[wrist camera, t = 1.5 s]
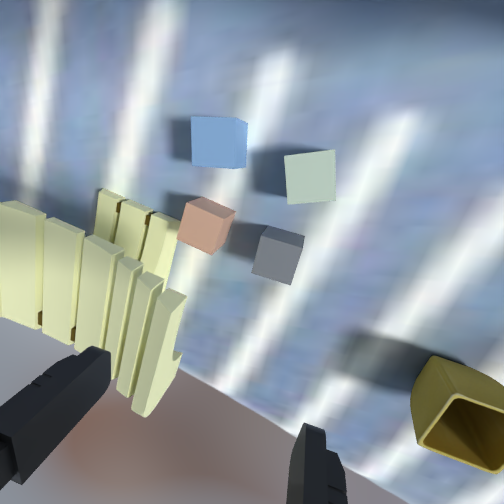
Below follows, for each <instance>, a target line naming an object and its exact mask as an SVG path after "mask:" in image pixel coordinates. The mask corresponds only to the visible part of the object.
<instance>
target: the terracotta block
mask: <svg viewBox="0 0 504 504" xmlns="http://www.w3.org/2000/svg"><path fill="white" fill-rule="evenodd" d="M235 213H236V211H234V210H232V209H229V208H227V207H225V206H223V205H220V204H218V203H216V202H214V201H211V200H209V199H207V198H205V197H201V198H198V199H195V200H192V201H189V202H186V206H185V209H184V213H183V216H182V220H181V224H180V227H179V231H178V234H177V238H176V239H178V240H180V241H182V242H184V243H186V244H188V245H191V246H193V247H195V248H197V249H199V250H201V251H203V252H206V253H208V254H210V255H213V254H214V253H215V252H216V251H217V250H218V249H219V248H220V247H221V246H222V245H223V244H224V243H225V241H226V238H227V235H228V232H229V230H230V227H231V224H232V221H233V219H234V216H235Z"/></svg>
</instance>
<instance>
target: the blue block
mask: <svg viewBox="0 0 504 504" xmlns="http://www.w3.org/2000/svg"><path fill="white" fill-rule="evenodd" d="M247 129H248V123H246V122H244V121H242V120H240V119H238V118H229V117H197V116H191V146H192V166H201V167H215V168H229V169H237V168H244V167H246V152H247Z"/></svg>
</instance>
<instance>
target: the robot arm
mask: <svg viewBox="0 0 504 504" xmlns="http://www.w3.org/2000/svg"><path fill="white" fill-rule="evenodd" d="M110 381H111V353H110V352H109V351H107V350H104V349H101V348H98V347H95V346H90V347H88V348H86V349H85V350H84V351H83V352H82V353H80V354H79V355H78V356H76V355H71V356H69V357H67V358H64V359H62V360H60V361H58V362H56V363H55V364H54V365H53V366H51V367H50V368H49V369H47V370H46V371H45V372H44V373H43V374H42V375H40V376H39V377H37V378H36V379H35V380H33V381H32V383H31V384H30V385H27V386H26V387H25V388H23V389H22V390H21V391H20V392H18V393H17V394H16V395H14V396H13V397H12V398H11V399H9V400H8V401H7V402H6V403H4V404H3V405H2V406H0V490H1V489H2V488H3V487H4V486H5V485H6V484H7V483H8V482H9V481H10V480H12V481H14V482H16V483H18V484H21V485H22V484H23V483H24V482H25V481H26V480H27V479H28V478H29V477H30V476H31V474H32V473H33V472H34V471H35V470H36V469H37V468H38V467H39V466H40V464H41V463H42V462H43V461H44V460H45V459H46V458H47V457H48V455H49V454H50V453H51V452H52V451H53V450H54V449H55V448H56V447H57V445H58V444H59V443H60V442H61V441H62V440H63V439H64V438H65V437H66V435H67V434H68V433H69V432H70V431H71V430H72V429H73V428H74V427H75V425H76V424H77V423H78V422H79V421H80V420H81V419H82V418H83V416H84V415H85V414H86V413H87V412H88V411H89V410H90V409H91V407H92V406H93V405H94V404H95V403H96V402H97V401H98V400H99V399H100V398H101V396H102V395H103V394H104V393H105V391H106V390H107V388H108V386H109V384H110ZM346 492H347V490H346V480H345V471H344V469H343V466H342V464H341V461H340V459H339V457H338V454H337V453H335V452H332V451H330V450H327V449H326V434H325V430H323V429H321V428H318V427H315V426H312V425H309V424H307V423H303V425H302V428H301V430H300V433H299V435H298V437H297V440H296V442H295V445H294V448H293V450H292V454H291V460H290V466H289V477H288V489H287V502H286V504H348V501H347V496H346Z"/></svg>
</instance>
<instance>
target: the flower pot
mask: <svg viewBox="0 0 504 504" xmlns="http://www.w3.org/2000/svg"><path fill="white" fill-rule="evenodd" d="M410 407H411V414H412V419H413V424H414V430H415V435H416V440H417V444H418V445H420V446H422V447H424V448H426V449H429V450H431V451H433V452H436V453H439V454H441V455H444V456H447V457H449V458H452V459H454V460H457V461H460V462H462V463H465V464H468V465H470V466H473V467H476V468H478V469H480V470H483V471H486V472H489V473H493V474H498V473H500V472H501V471H502V470H503V469H504V386H503V385H501V384H500V383H499V382H497V381H496V380H494V379H493V378H491V377H489V376H487V375H485V374H483V373H481V372H479V371H477V370H475V369H473V368H470V367H468V366H465V365H462V364H459V363H456V362H453V361H450V360H447V359H444V358H441V357H438V356H431V357H430V358H429V360H428V361H427V363H426V365H425V366H424V368H423V369H422V371H421V372H420V374H419V375H418V377H417V378H416V381H415V383H414V386H413V388H412V392H411V398H410Z"/></svg>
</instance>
